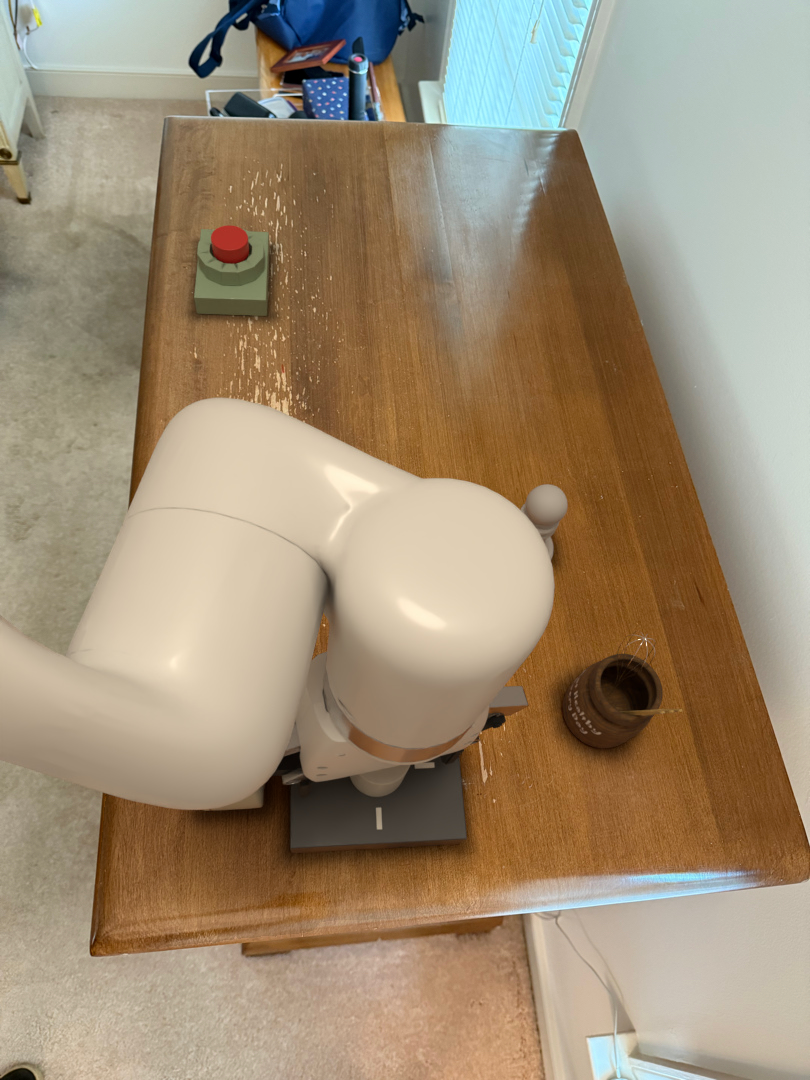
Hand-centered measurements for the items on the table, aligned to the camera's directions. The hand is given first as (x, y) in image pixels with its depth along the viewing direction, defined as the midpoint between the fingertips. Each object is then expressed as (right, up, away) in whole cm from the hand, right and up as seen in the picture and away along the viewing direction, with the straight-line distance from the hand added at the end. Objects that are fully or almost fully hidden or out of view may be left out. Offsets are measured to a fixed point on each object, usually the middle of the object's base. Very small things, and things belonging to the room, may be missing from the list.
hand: (373, 756), depth 49 cm
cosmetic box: (-10, -2, +5) cm, 11 cm away
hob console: (0, -3, +5) cm, 6 cm away
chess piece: (+13, +14, +16) cm, 25 cm away
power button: (-15, +43, +25) cm, 52 cm away
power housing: (-16, +42, +28) cm, 53 cm away
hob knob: (0, -2, +3) cm, 3 cm away
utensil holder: (+17, 0, +10) cm, 20 cm away
